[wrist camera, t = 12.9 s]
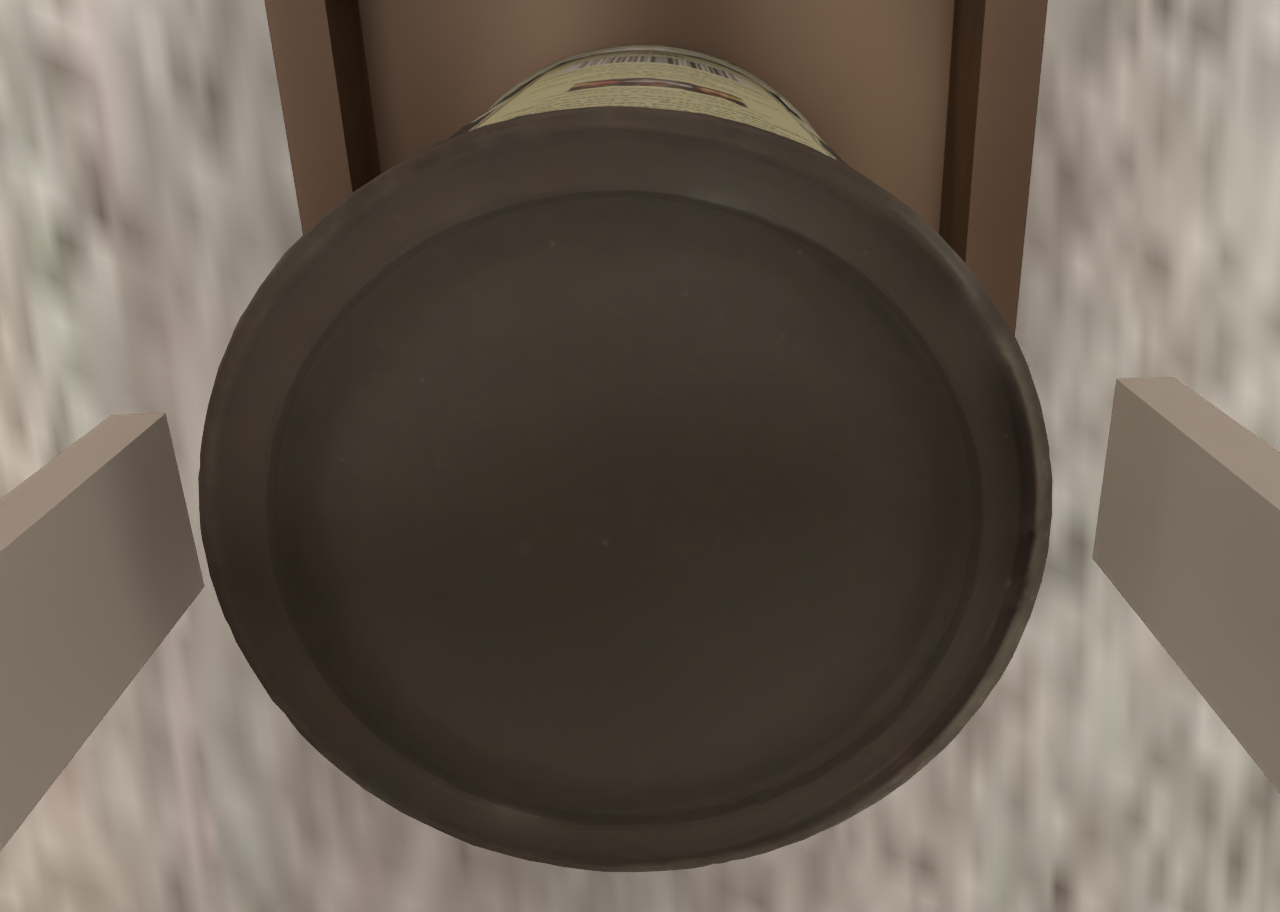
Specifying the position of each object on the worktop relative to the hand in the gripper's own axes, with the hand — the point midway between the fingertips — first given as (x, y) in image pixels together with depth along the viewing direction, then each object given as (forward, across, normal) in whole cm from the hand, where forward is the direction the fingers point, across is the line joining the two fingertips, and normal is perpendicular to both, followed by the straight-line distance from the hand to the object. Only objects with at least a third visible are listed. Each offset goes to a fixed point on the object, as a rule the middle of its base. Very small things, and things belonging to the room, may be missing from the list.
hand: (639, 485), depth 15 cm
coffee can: (+12, 0, 0) cm, 12 cm away
